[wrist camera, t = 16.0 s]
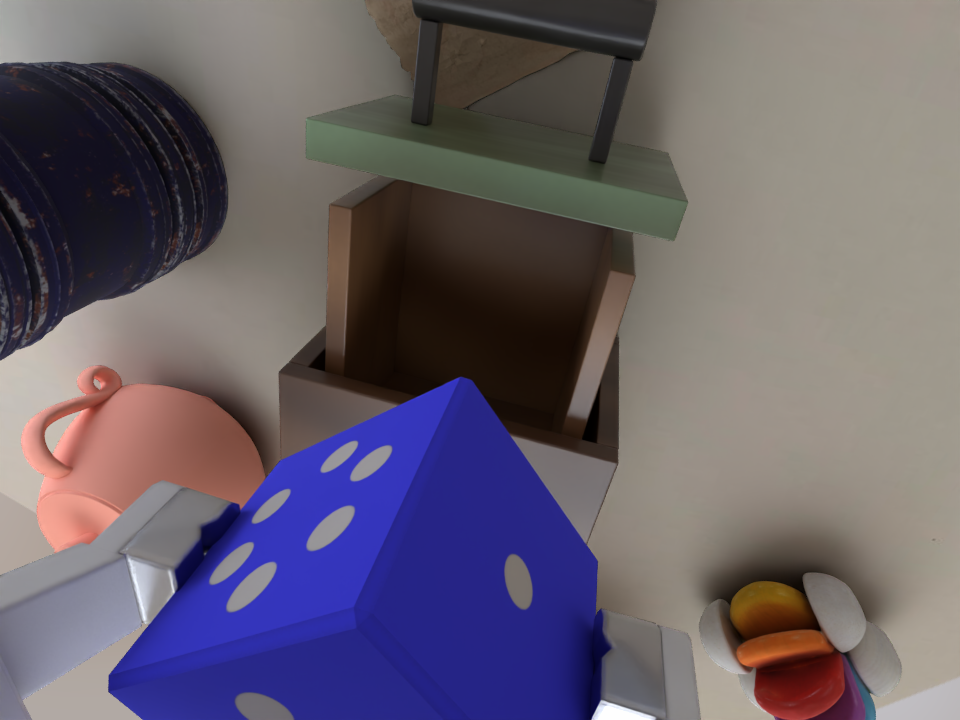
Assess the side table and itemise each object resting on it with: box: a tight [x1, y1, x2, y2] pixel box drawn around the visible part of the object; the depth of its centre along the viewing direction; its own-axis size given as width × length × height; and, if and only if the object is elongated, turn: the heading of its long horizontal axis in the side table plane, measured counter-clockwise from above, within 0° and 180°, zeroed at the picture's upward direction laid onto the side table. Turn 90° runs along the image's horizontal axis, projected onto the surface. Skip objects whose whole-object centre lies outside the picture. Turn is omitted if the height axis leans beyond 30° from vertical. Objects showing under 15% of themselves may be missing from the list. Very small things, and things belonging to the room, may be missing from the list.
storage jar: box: [0, 62, 228, 360], centre depth 22 cm, size 10×10×15 cm
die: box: [108, 377, 598, 720], centre depth 10 cm, size 5×5×5 cm
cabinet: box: [279, 326, 619, 545], centre depth 28 cm, size 15×13×10 cm
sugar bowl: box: [21, 365, 265, 553], centre depth 33 cm, size 12×14×10 cm
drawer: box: [306, 0, 688, 439], centre depth 22 cm, size 18×11×8 cm, turn 170°
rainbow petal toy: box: [699, 572, 902, 720], centre depth 31 cm, size 8×10×7 cm
